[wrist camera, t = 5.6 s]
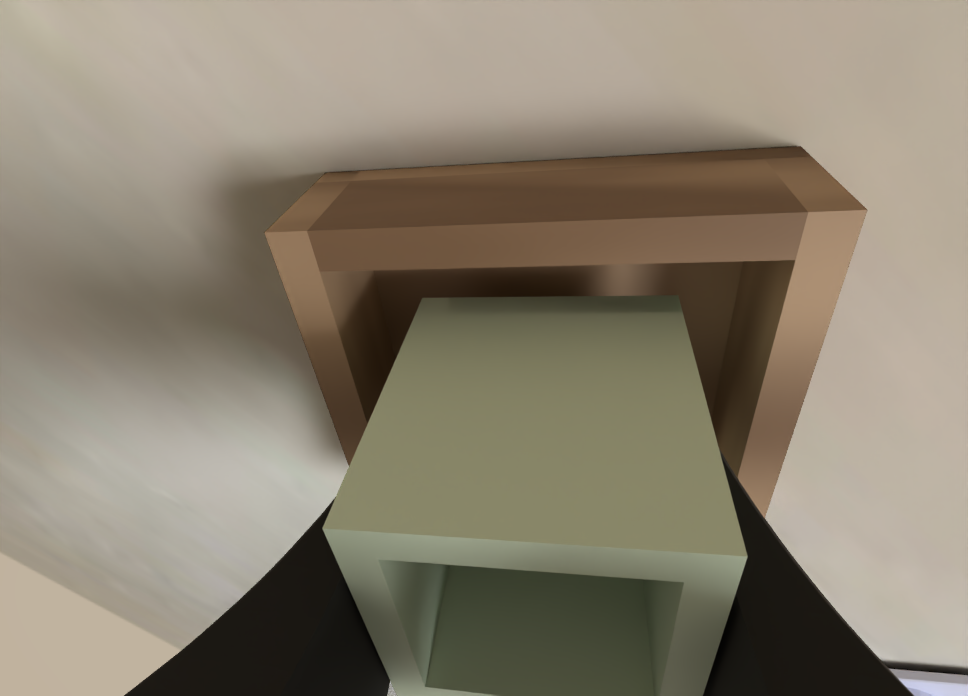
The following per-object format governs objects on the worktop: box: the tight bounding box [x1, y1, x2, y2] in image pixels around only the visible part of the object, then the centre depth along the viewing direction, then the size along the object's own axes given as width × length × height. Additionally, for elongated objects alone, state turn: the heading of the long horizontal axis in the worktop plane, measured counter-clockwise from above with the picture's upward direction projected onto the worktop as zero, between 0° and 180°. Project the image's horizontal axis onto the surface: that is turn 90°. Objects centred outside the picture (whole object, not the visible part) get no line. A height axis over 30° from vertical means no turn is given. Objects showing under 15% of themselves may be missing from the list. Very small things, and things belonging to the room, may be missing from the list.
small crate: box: [322, 295, 748, 696], centre depth 10 cm, size 5×5×6 cm
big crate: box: [264, 146, 867, 518], centre depth 13 cm, size 10×10×3 cm
